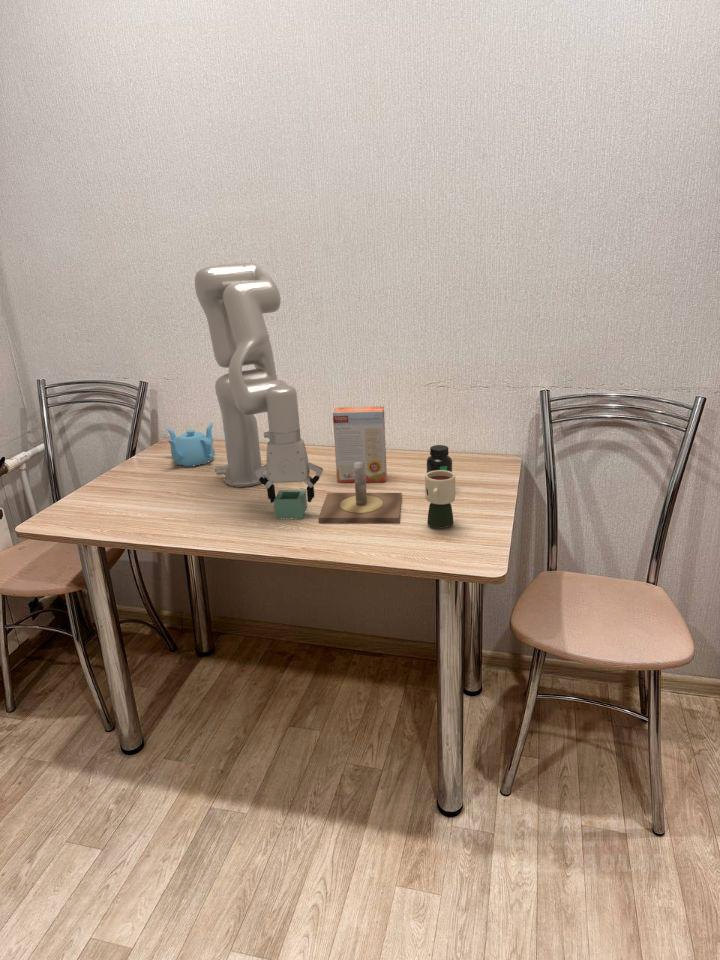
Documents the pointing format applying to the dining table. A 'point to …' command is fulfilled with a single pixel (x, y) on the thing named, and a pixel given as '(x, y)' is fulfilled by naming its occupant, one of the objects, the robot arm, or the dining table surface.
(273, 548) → the dining table surface
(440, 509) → the character mug
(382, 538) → the dining table surface
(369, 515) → the post board
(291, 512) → the collar
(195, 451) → the teapot
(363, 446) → the cracker box
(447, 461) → the supplement bottle
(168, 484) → the dining table surface
